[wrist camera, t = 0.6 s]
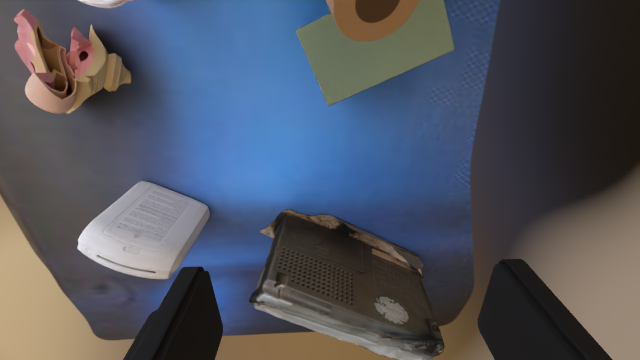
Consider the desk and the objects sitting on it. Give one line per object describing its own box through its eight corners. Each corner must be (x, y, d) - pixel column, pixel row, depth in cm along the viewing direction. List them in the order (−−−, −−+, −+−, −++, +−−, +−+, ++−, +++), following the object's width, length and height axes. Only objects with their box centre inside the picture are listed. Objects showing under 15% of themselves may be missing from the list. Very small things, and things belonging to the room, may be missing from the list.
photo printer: (132, 200, 41) (62, 264, 30) (138, 174, 39) (66, 232, 28) (205, 227, 43) (166, 296, 32) (214, 204, 41) (176, 268, 30)
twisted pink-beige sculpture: (139, 26, 32) (135, 104, 29) (121, 79, 38) (116, 146, 36) (17, -21, 26) (-5, 72, 23) (22, 52, 32) (6, 130, 30)
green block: (299, 30, 31) (295, 30, 25) (410, -26, 29) (435, -41, 23) (326, 92, 34) (328, 106, 28) (428, 45, 32) (455, 49, 26)
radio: (258, 231, 43) (231, 321, 30) (286, 186, 40) (270, 265, 27) (387, 290, 49) (413, 388, 35) (421, 255, 45) (464, 349, 32)
